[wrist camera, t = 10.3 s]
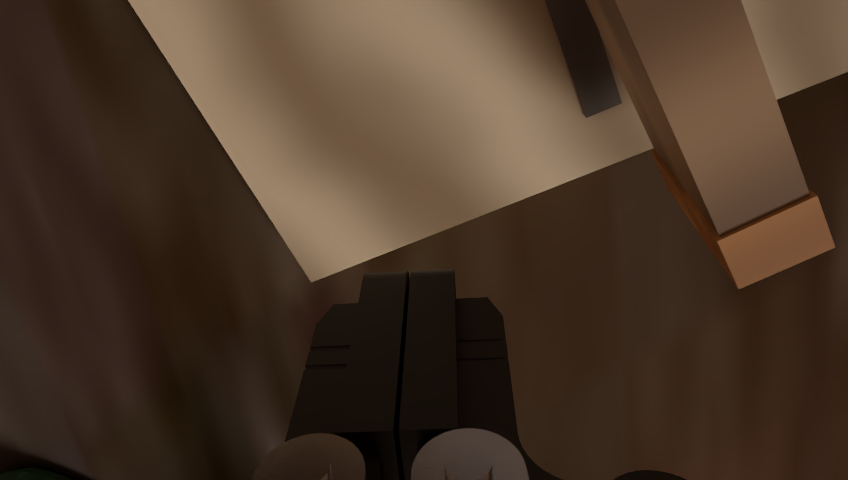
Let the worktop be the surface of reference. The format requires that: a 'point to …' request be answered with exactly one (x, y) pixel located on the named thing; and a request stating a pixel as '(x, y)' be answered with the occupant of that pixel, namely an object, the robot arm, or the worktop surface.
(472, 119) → the level stand
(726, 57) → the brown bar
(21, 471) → the coffee jar
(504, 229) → the worktop surface
